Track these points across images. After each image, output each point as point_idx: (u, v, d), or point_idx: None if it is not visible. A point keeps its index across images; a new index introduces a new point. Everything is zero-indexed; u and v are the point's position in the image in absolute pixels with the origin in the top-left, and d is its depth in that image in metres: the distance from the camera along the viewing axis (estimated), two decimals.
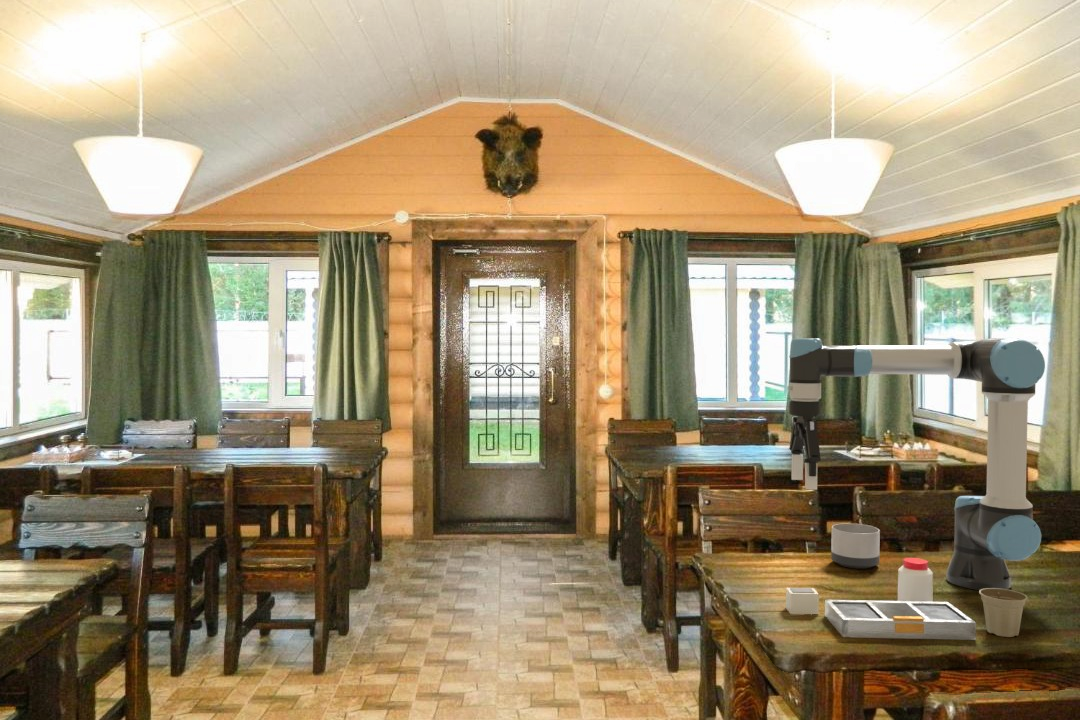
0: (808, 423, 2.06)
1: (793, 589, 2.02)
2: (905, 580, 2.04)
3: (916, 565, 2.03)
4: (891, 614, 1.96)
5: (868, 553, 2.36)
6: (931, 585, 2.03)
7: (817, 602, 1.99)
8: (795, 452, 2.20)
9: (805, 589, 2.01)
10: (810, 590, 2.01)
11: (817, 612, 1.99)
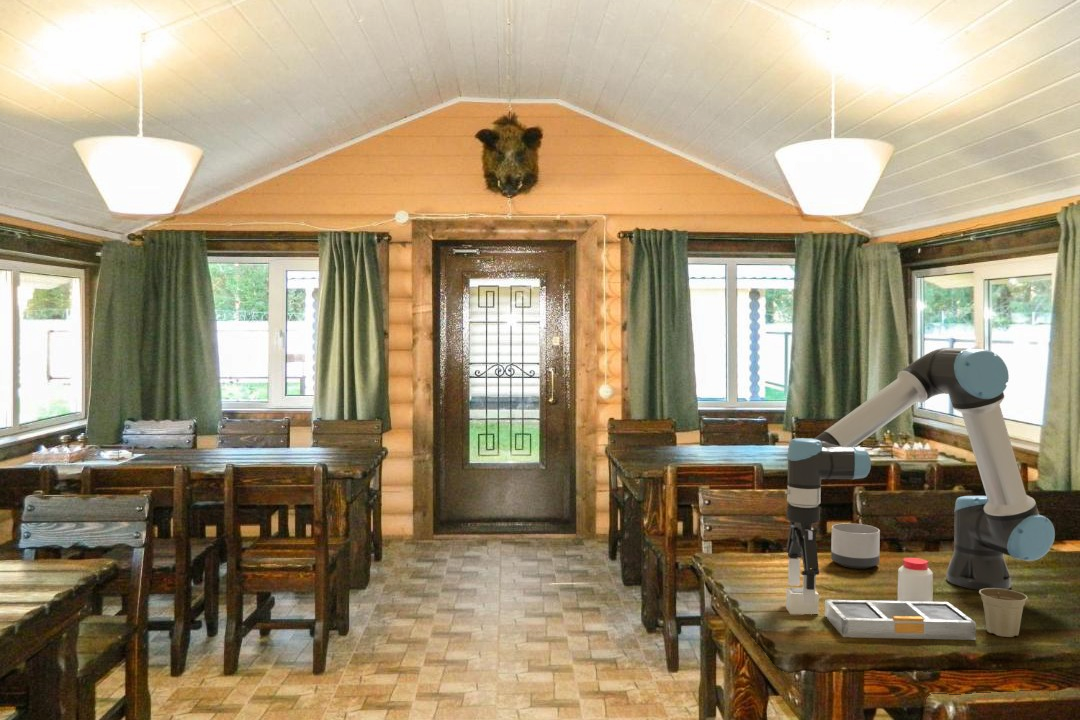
0: (806, 532, 1.94)
1: (793, 589, 2.02)
2: (905, 580, 2.04)
3: (916, 565, 2.03)
4: (891, 614, 1.96)
5: (868, 553, 2.36)
6: (931, 585, 2.03)
7: (817, 602, 1.99)
8: (792, 556, 2.08)
9: None
10: None
11: (817, 612, 1.99)
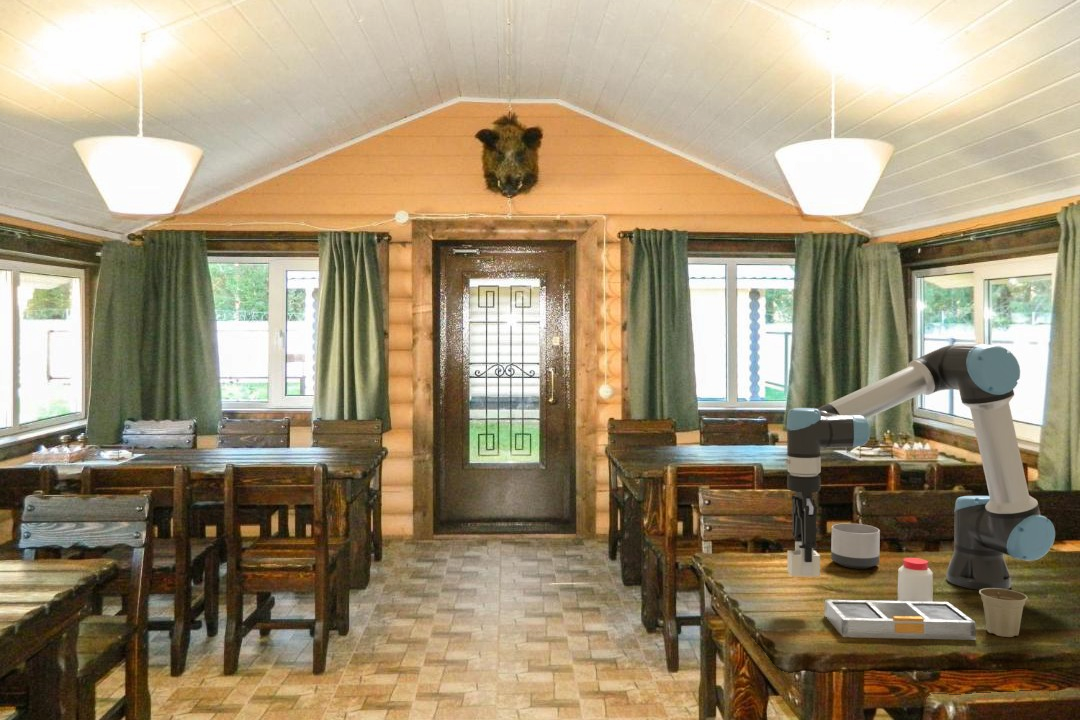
0: (807, 509, 1.94)
1: (794, 551, 2.01)
2: (905, 580, 2.04)
3: (916, 565, 2.03)
4: (891, 614, 1.96)
5: (868, 553, 2.36)
6: (931, 585, 2.03)
7: (819, 564, 1.99)
8: (799, 539, 2.04)
9: None
10: None
11: (818, 574, 1.99)
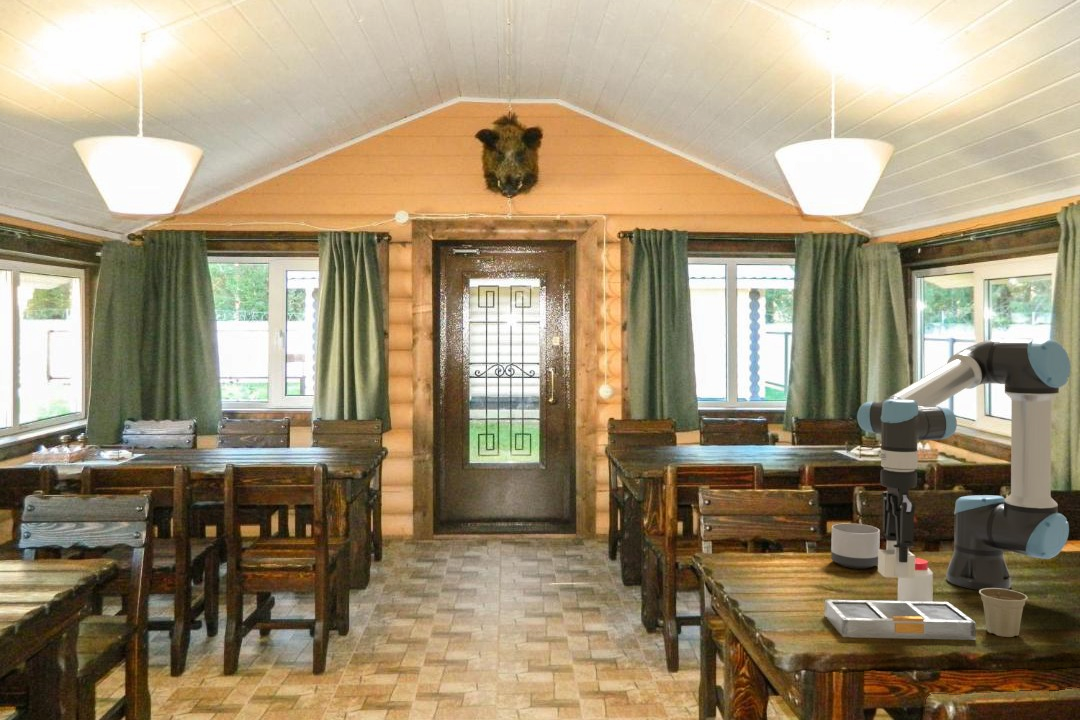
0: (905, 505, 1.83)
1: (887, 551, 1.91)
2: (905, 580, 2.04)
3: (916, 565, 2.03)
4: (891, 614, 1.96)
5: (868, 553, 2.36)
6: (931, 585, 2.03)
7: (913, 564, 1.88)
8: (890, 538, 1.93)
9: None
10: None
11: (913, 575, 1.88)
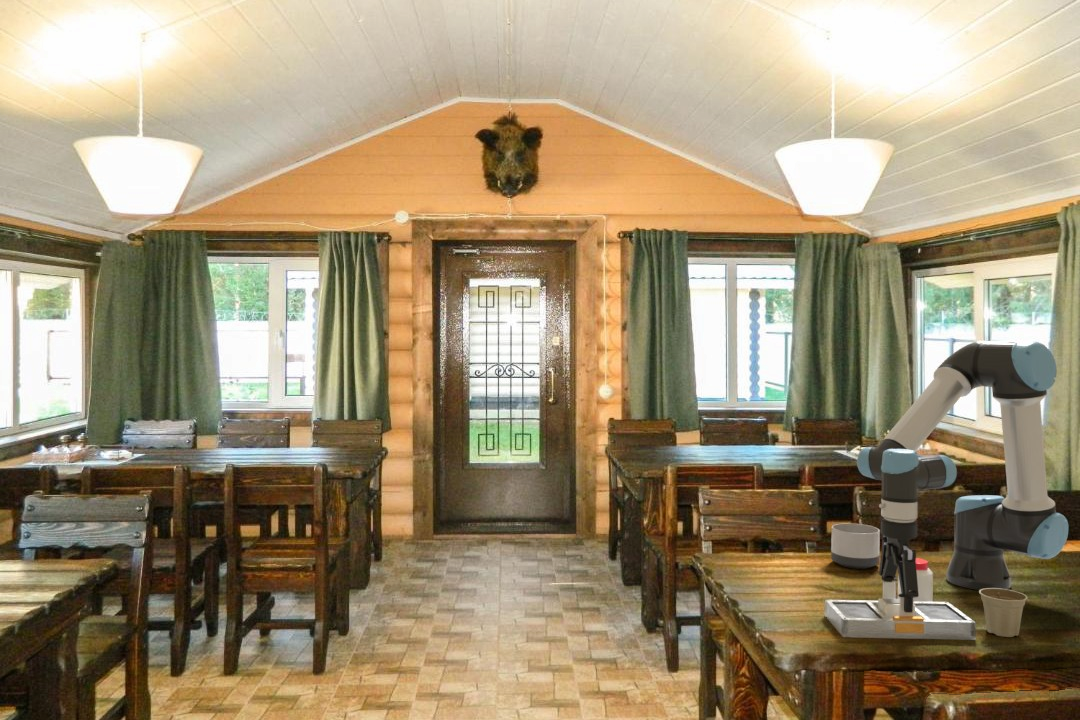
0: (906, 552, 1.83)
1: (887, 600, 1.91)
2: None
3: (916, 565, 2.03)
4: None
5: (868, 553, 2.36)
6: (931, 585, 2.03)
7: (913, 614, 1.88)
8: (887, 579, 1.96)
9: None
10: None
11: None
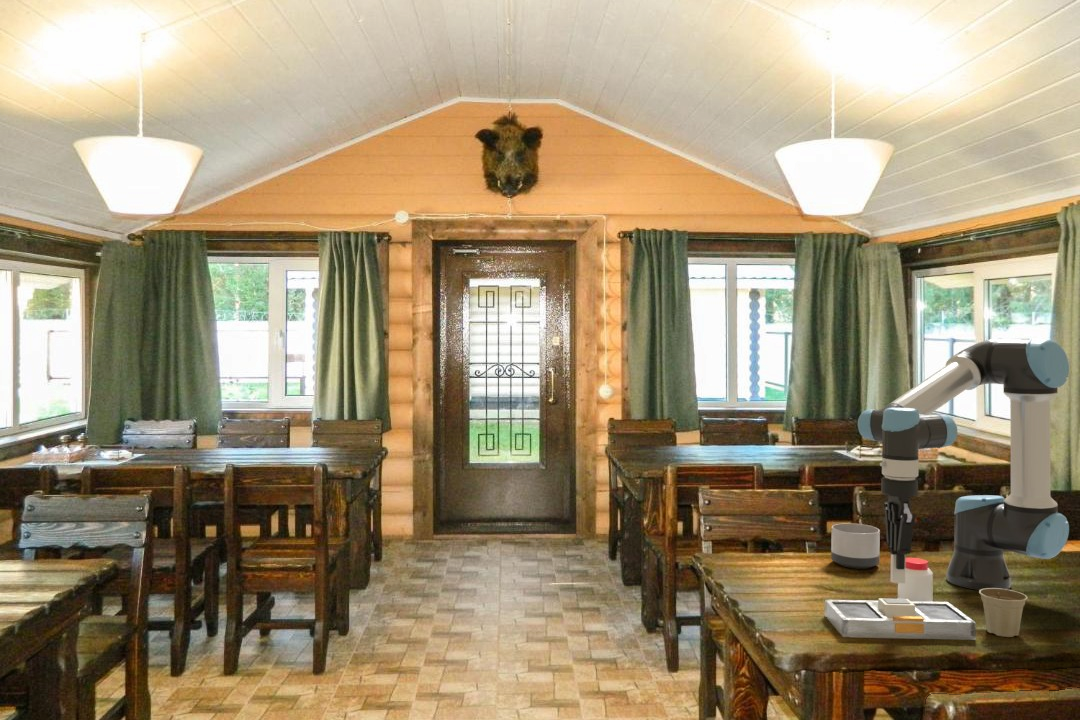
0: (905, 517, 1.83)
1: (887, 600, 1.91)
2: (905, 580, 2.04)
3: (916, 565, 2.03)
4: None
5: (868, 553, 2.36)
6: (931, 585, 2.03)
7: (913, 614, 1.88)
8: None
9: (900, 600, 1.91)
10: (905, 601, 1.90)
11: None
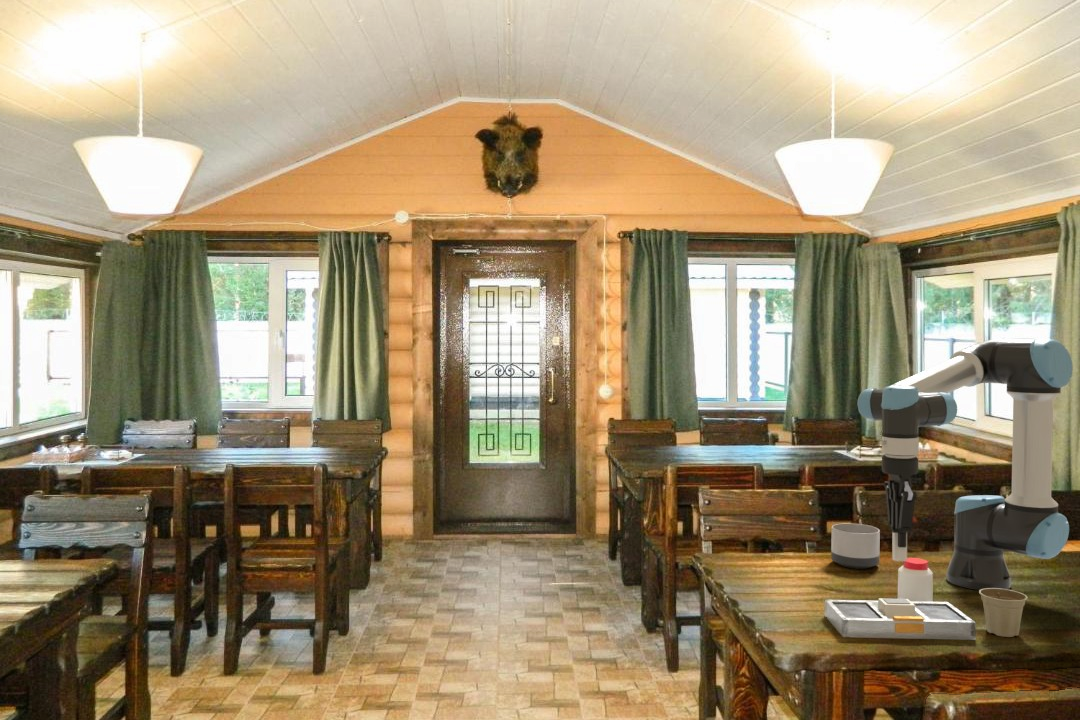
0: (906, 495, 1.83)
1: (887, 600, 1.91)
2: (905, 580, 2.04)
3: (916, 565, 2.03)
4: None
5: (868, 553, 2.36)
6: (931, 585, 2.03)
7: (913, 614, 1.88)
8: None
9: (900, 600, 1.91)
10: (905, 601, 1.90)
11: None
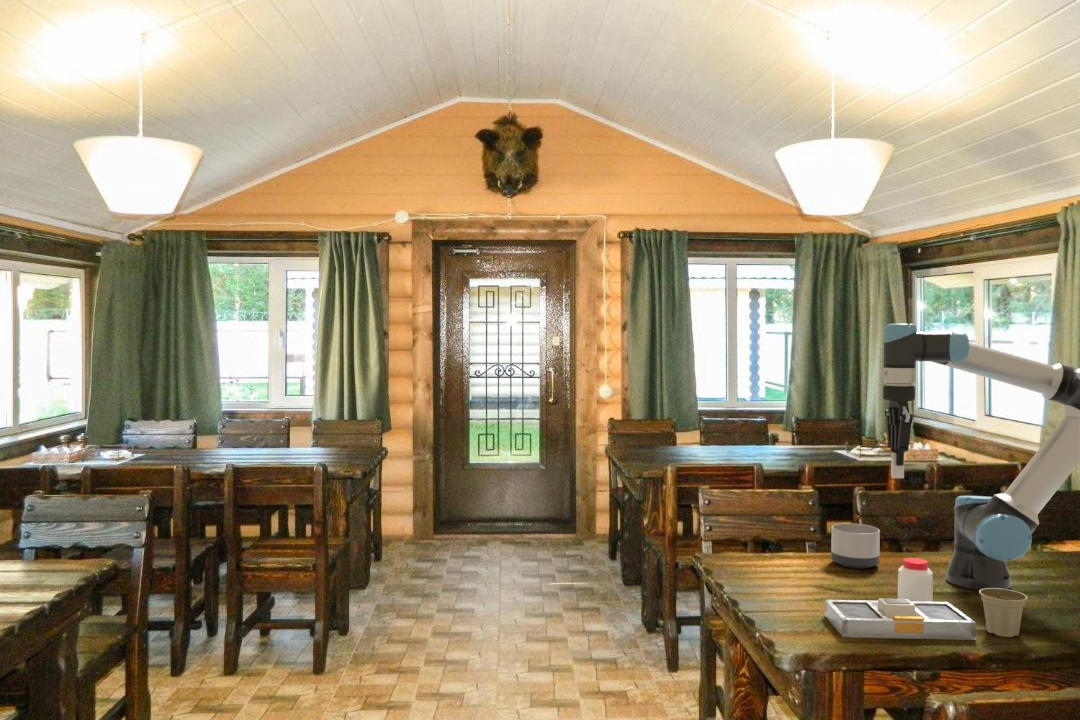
0: (904, 417, 2.08)
1: (887, 600, 1.91)
2: (905, 580, 2.04)
3: (916, 565, 2.03)
4: None
5: (868, 553, 2.36)
6: (931, 585, 2.03)
7: (913, 614, 1.88)
8: None
9: (900, 600, 1.91)
10: (905, 601, 1.90)
11: None
